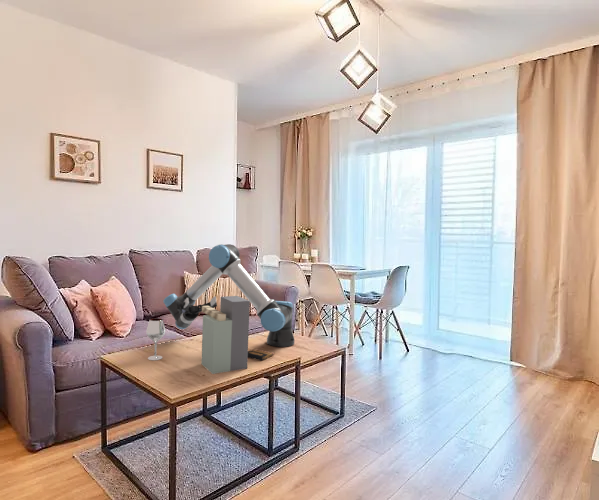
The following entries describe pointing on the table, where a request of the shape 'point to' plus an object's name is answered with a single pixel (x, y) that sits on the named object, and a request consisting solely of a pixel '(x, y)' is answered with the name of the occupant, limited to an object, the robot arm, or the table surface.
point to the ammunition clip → (259, 354)
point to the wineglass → (155, 334)
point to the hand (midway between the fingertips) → (202, 299)
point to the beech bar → (214, 313)
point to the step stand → (226, 337)
